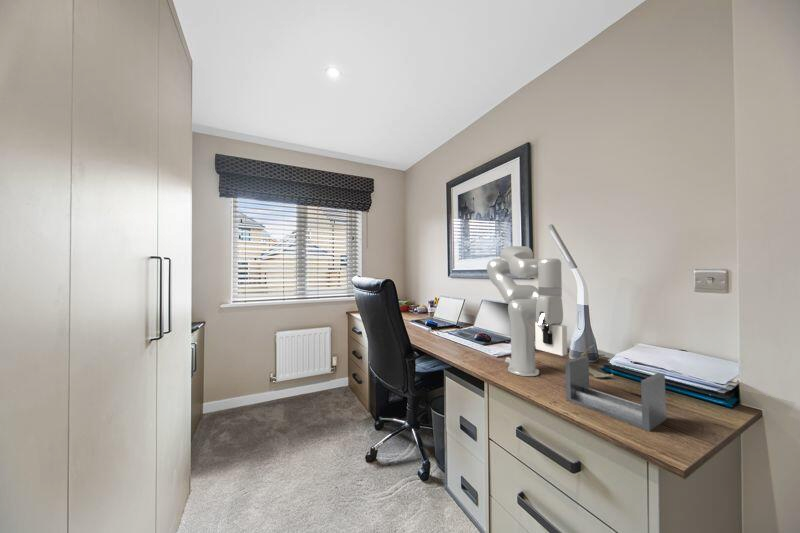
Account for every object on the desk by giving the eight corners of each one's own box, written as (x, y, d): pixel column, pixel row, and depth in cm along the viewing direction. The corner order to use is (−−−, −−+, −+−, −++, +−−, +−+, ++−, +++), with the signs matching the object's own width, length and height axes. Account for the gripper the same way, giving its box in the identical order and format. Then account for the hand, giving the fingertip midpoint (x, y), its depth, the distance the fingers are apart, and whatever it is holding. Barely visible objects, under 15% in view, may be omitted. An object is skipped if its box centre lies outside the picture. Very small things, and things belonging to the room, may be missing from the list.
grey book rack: (566, 400, 94) (565, 361, 94) (584, 392, 100) (583, 355, 101) (649, 431, 75) (647, 382, 76) (666, 419, 81) (664, 374, 82)
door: (535, 348, 105) (535, 322, 105) (540, 347, 106) (540, 321, 106) (562, 355, 96) (562, 326, 96) (567, 354, 98) (566, 325, 98)
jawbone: (592, 380, 125) (616, 376, 111) (577, 384, 124) (600, 380, 110) (576, 349, 131) (597, 342, 118) (562, 352, 130) (581, 346, 117)
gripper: (552, 290, 109) (553, 338, 109) (526, 292, 101) (527, 343, 100) (572, 292, 102) (573, 342, 102) (546, 294, 94) (547, 348, 94)
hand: (550, 342), depth 101 cm, fingers closed on door, 3 cm apart
